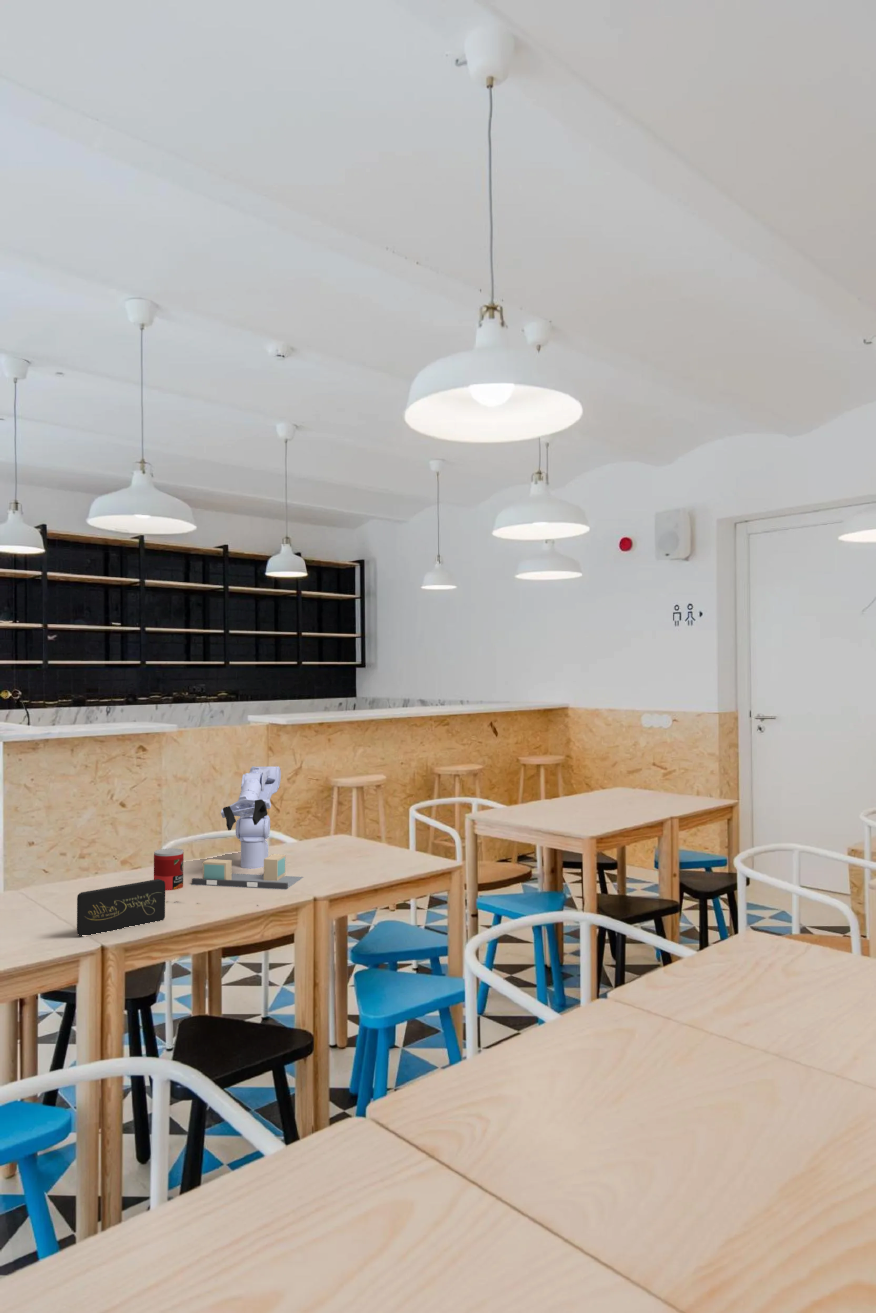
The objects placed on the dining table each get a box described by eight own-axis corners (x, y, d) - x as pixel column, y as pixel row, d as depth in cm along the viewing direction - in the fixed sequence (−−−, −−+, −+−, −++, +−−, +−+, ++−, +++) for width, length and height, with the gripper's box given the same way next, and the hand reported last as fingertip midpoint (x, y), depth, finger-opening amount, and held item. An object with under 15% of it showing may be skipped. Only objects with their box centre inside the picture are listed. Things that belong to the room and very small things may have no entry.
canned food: (178, 894, 243) (178, 853, 243) (149, 893, 243) (149, 853, 244) (186, 887, 251) (187, 848, 251) (158, 886, 251) (159, 847, 251)
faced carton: (231, 881, 254) (231, 860, 254) (225, 884, 250) (225, 863, 250) (208, 880, 255) (208, 859, 255) (202, 883, 251) (202, 862, 251)
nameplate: (161, 918, 220) (161, 878, 220) (164, 920, 219) (165, 879, 219) (76, 936, 206) (77, 892, 206) (80, 938, 204) (80, 894, 204)
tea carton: (272, 874, 262) (272, 854, 262) (285, 875, 262) (285, 854, 262) (263, 880, 255) (263, 859, 256) (277, 880, 255) (277, 859, 255)
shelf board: (213, 875, 265) (213, 867, 265) (303, 880, 260) (303, 871, 260) (190, 888, 250) (191, 879, 250) (285, 893, 245) (286, 884, 245)
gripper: (221, 792, 264) (212, 818, 252) (268, 782, 264) (262, 808, 251) (228, 811, 267) (220, 838, 255) (275, 802, 266) (269, 828, 254)
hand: (241, 824), depth 253 cm, fingers open, 7 cm apart
